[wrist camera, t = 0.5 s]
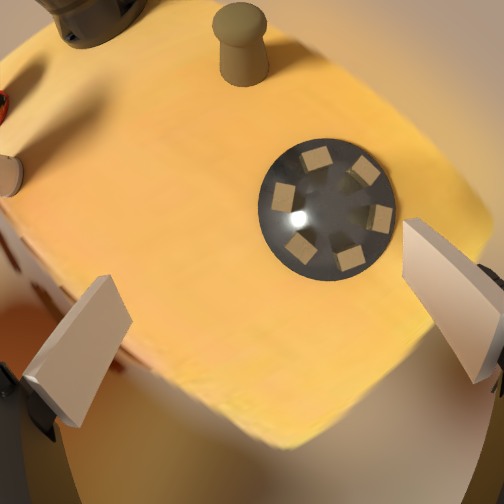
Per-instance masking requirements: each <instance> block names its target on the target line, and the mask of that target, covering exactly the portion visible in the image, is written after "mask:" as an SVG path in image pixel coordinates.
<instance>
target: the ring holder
mask: <svg viewBox="0 0 504 504" xmlns="http://www.w3.org/2000/svg"><path fill="white" fill-rule="evenodd" d="M258 216H259V223H260V227H261V230H262V233H263V236H264V238H265V240H266V242H267V244H268V246H269V247H270V249H271V251H272V252H273V253H274V255H275V256H276V257H277V258H278V259H279V260H280V261H281V262H282V263H283V264H284V265H285V266H287V267H288V268H289V269H291V270H292V271H294V272H296V273H298V274H299V275H302V276H304V277H307V278H310V279H314V280H320V281H337V280H343V279H347V278H350V277H353V276H355V275H357V274H359V273H361V272H363V271H364V270H366V269H367V268H368V267H370V266H371V265H372V264H373V263H374V262H375V261H376V260H377V259H378V258H379V257H380V256H381V254H382V253H383V251H384V250H385V248H386V246H387V244H388V243H389V241H390V238H391V235H392V232H393V228H394V224H395V200H394V195H393V191H392V188H391V185H390V183H389V180H388V178H387V176H386V175H385V173H384V171H383V170H382V168H381V167H380V166H379V164H378V163H377V162H376V161H375V160H374V159H373V158H372V157H371V156H370V155H368V154H367V153H366V152H365V151H363V150H362V149H360V148H358V147H356V146H354V145H352V144H350V143H347V142H344V141H341V140H335V139H314V140H309V141H305V142H303V143H300V144H297V145H296V146H294V147H292V148H290V149H289V150H287V151H286V152H285V153H283V154H282V155H281V156H280V157H279V158H278V159H277V160H276V161H275V162H274V163H273V165H272V166H271V167H270V169H269V170H268V172H267V174H266V176H265V178H264V180H263V183H262V185H261V189H260V193H259V200H258Z"/></svg>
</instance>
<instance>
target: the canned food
mask: <svg viewBox="0 0 504 504" xmlns="http://www.w3.org/2000/svg"><path fill="white" fill-rule="evenodd" d="M8 102H9V100H8V96H7V95H6V94H5V92H3V91H1V90H0V124H1V123H2V121H3V119H4V117H5V115H6V112H7V109H8Z"/></svg>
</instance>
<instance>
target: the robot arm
mask: <svg viewBox="0 0 504 504" xmlns="http://www.w3.org/2000/svg"><path fill="white" fill-rule="evenodd" d="M36 1H37V2H38V3H39V4H41V5H42V6H43V7H44V8H45V9H46V10H47V11H49V12H50V13H51V14H52V16H53V19H54V21H55V24H56V26H57V29H58V32H59V34H60V36H61V38H62V39H63V40H64V41H65V42H66V43H67V44H68V45H69V46H71V47H73V48H76V49H87V48H91V47H94V46H97V45H100V44H102V43H104V42H106V41H108V40H110V39H112V38H113V37H115V36H116V35H118V34H119V33H121V32H122V31H123V30H124V29H126V28H127V27H128V26H129V25H130V24H131V23H132V22H133V21H134V20H135V19H136V18H137V17H138V16H139V14H140V13H141V11H142V10H143V8H144V6H145V4H146V1H147V0H36ZM402 277H403V279H404V280H405V281H406V282H407V284H408V285H409V287H410V288H411V289H412V291H413V292H414V293H415V295H416V296H417V297H418V299H419V300H420V302H421V303H422V304H423V306H424V307H425V309H426V310H427V312H428V313H429V314H430V316H431V317H432V319H433V320H434V322H435V323H436V325H437V326H438V328H439V329H440V331H441V332H442V334H443V335H444V337H445V338H446V340H447V341H448V343H449V344H450V346H451V347H452V349H453V351H454V352H455V354H456V356H457V357H458V359H459V361H460V362H461V364H462V365H463V367H464V368H465V370H466V372H467V374H468V376H469V377H470V379H471V381H472V383H473V384H475V383H477V382H479V381H481V380H483V379H486V378H487V377H490V376H491V375H492V373H493V371H494V369H495V366H496V364H497V363H498V364H499V366H500V367H501V369H502V371H501V373H500V375H499V377H498V379H497V381H496V383H495V385H494V386H493V388H492V391H491V392H492V393H494V391H495V389H496V388H497V391H496V396H495V401H494V406H493V410H492V415H491V419H490V423H489V427H488V430H487V434H486V438H485V441H484V445H483V448H482V451H481V454H480V457H479V460H478V463H477V466H476V468H475V471H474V474H473V476H472V479H471V481H470V484H469V486H468V489H467V491H466V493H465V496H464V498H463V500H462V502H461V504H504V281H503V280H502V279H500V277H498V275H497V274H496V273H494V272H493V271H492V270H491V269H489V268H487V267H485V266H483V265H481V264H477V265H476V264H474V263H473V262H472V261H471V260H470V259H469V258H468V257H467V256H465V255H464V254H463V253H462V252H461V251H460V250H458V249H457V248H456V247H455V246H454V245H452V244H451V243H450V242H449V241H448V240H446V239H445V238H444V237H443V236H441V235H440V234H439V233H438V232H436V231H435V230H434V229H433V228H431V227H430V226H429V225H427V224H426V223H425V222H423V221H422V220H421V219H419V218H413V219H407V220H403V270H402ZM132 322H133V321H132V319H131V317H130V315H129V313H128V311H127V309H126V307H125V305H124V303H123V301H122V299H121V297H120V294H119V292H118V290H117V288H116V286H115V284H114V281H113V279H112V277H111V275H104V276H99V277H97V279H96V280H95V281H94V282H93V283H92V284H91V286H90V287H89V288H88V289H87V290H86V291H85V293H84V294H83V295H82V296H81V297H80V299H79V300H78V301H77V302H76V303H75V305H74V306H73V307H72V308H71V310H70V311H69V312H68V313H67V315H66V316H65V317H64V318H63V320H62V321H61V322H60V323H59V325H58V326H57V327H56V329H55V330H54V331H53V333H52V334H51V335H50V337H49V338H48V339H47V341H46V342H45V343H44V345H43V346H42V348H41V349H40V350H39V352H38V353H37V354H36V356H35V357H34V358H33V360H32V361H31V363H30V364H29V366H28V367H27V369H26V370H25V371H24V373H23V374H22V378H21V380H20V381H19V380H18V379H17V378H16V377H15V375H14V374H13V373H12V371H11V370H10V369H9V367H8V366H7V365H6V363H4V362H0V504H82V503H81V500H80V498H79V495H78V492H77V489H76V487H75V483H74V480H73V477H72V474H71V471H70V468H69V464H68V461H67V457H66V453H65V449H64V445H63V441H62V437H61V432H60V428H59V426H58V424H57V423H56V422H55V421H54V420H55V418H56V416H58V417H59V418H60V419H61V420H62V421H63V422H64V424H66V425H68V426H72V427H77V428H80V427H81V424H82V422H83V420H84V417H85V415H86V413H87V411H88V409H89V407H90V405H91V402H92V400H93V398H94V396H95V394H96V392H97V390H98V388H99V386H100V384H101V381H102V379H103V377H104V375H105V373H106V371H107V369H108V367H109V365H110V364H111V362H112V360H113V358H114V356H115V354H116V352H117V350H118V348H119V346H120V344H121V342H122V340H123V338H124V337H125V335H126V333H127V331H128V329H129V327H130V325H131V324H132Z"/></svg>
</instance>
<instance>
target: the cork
mask: <svg viewBox="0 0 504 504" xmlns="http://www.w3.org/2000/svg"><path fill="white" fill-rule="evenodd" d="M212 27H213V31H214V34H215V36H216V37H217V38H218V39H219V41H220V72H221V76H222V77H223V78H224V80H225V81H227V82H228V83H230V84H231V85H234V86H238V87H249V86H254V85H256V84H258V83H260V82H261V81H262V80H263V79H264V78H265V77H266V76H267V74H268V72H269V62H268V58H267V54H266V50H265V45H264V41H263V35H264V34H265V32H266V29H267V20H266V17H265V15H264V13H263V12H262V11H261V10H260V9H259V8H258V7H256V6H254V5H252V4H249V3H245V2H237V3H232V4H229V5H226V6H224V7H223V8H221V9H220V10H219V11H218V12H217V13H216V15H215V16H214V19H213V24H212Z"/></svg>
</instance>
